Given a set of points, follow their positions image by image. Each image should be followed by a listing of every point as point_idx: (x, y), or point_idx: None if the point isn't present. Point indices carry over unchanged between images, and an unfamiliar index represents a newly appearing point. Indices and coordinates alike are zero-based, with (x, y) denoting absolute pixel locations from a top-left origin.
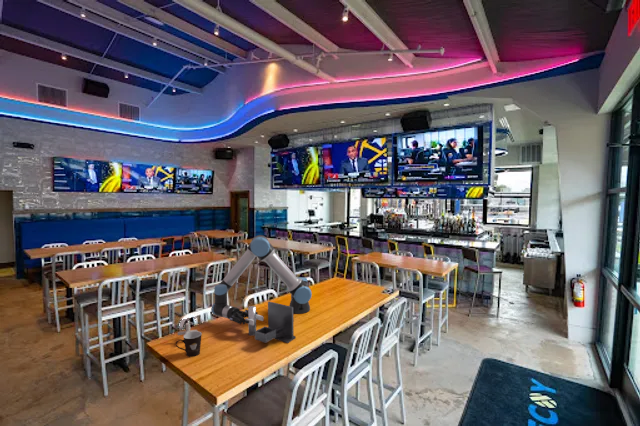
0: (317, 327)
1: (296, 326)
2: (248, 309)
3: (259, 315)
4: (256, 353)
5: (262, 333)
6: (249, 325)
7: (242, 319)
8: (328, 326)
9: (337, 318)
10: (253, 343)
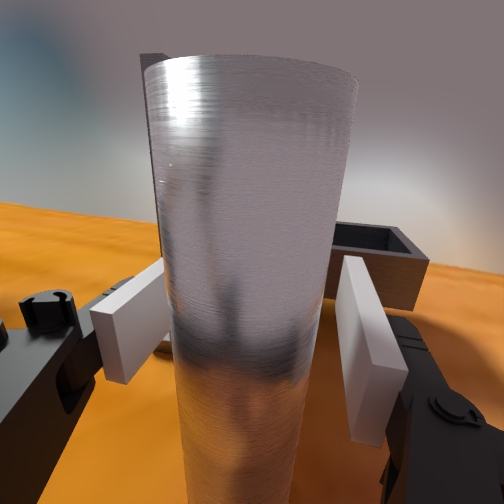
0: (116, 238)
1: (89, 276)
2: (348, 129)
3: None
4: (438, 315)
5: (399, 235)
6: (301, 422)
7: (484, 442)
8: (112, 226)
9: (41, 221)
10: None
